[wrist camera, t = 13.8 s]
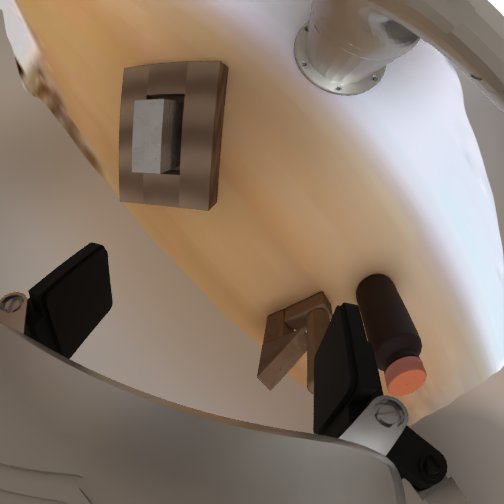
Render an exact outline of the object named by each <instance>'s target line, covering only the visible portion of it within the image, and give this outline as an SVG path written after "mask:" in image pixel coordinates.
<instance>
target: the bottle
mask: <svg viewBox="0 0 504 504" xmlns="http://www.w3.org/2000/svg"><path fill="white" fill-rule="evenodd" d="M356 299H357V302H358V305H359V309H360V312H361V316H362V320H363V323H364V327H365V331H366V335H367V338H368V341H369V342H371V344H372V346H373V350H374V355H375V359H376V363H377V367H378V368H379V369H380V370H382V371H384V374H385V380H386V385H387V389H388V391H389V393H391V394H392V395H396V396H402V395H406V394H409V393H412V392H414V391H415V390H417V389H418V388H419V387H420V386H422V384H423V383H424V382H425V380H426V371H425V369H424V366H423V363H422V361H421V360H420V357H419V355H420V353H421V348H422V343H421V339H420V337H419V334H418V332H417V330H416V328H415V326H414V324H413V322H412V319H411V317H410V315H409V313H408V311H407V309H406V307H405V305H404V303H403V301H402V299H401V297H400V295H399V293H398V291H397V289H396V287H395V285H394V284H393V282H392V281H391V280H390V278H388V277H386V276H384V275H379V274H378V275H372V276H370V277H368V278H366V279H365V280H363V281H362V282H361V284H360V285H359V287H358V289H357V292H356Z"/></svg>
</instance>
